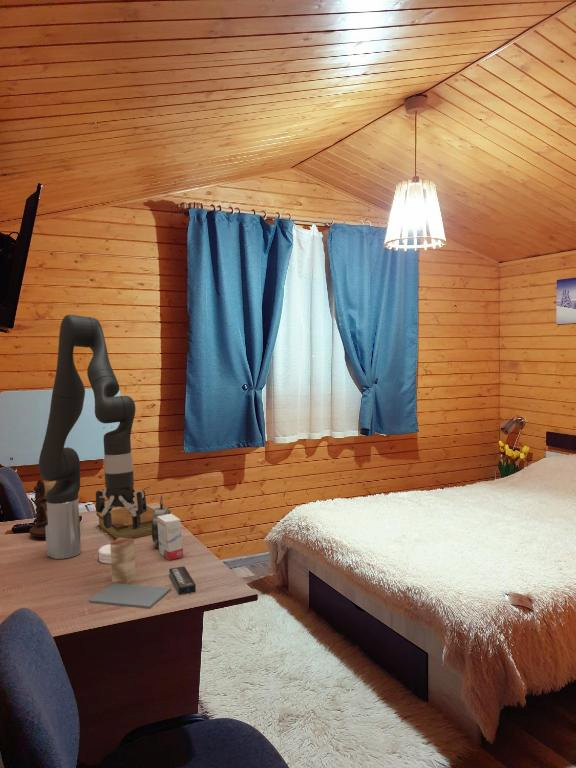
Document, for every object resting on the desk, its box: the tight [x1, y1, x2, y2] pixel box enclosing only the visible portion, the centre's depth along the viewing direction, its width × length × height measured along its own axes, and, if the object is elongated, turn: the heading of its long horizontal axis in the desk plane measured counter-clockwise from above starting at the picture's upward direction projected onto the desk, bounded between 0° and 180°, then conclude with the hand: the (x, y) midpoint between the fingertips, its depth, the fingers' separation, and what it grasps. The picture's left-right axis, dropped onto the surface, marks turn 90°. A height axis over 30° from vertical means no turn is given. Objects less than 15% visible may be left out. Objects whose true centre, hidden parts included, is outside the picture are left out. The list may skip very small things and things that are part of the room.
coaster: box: [98, 543, 111, 565], centre depth 176 cm, size 10×10×4 cm
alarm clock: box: [151, 494, 172, 550], centre depth 187 cm, size 11×5×16 cm, turn 2°
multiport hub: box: [168, 566, 197, 596], centre depth 155 cm, size 4×14×2 cm, turn 22°
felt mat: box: [88, 583, 172, 609], centre depth 148 cm, size 17×11×1 cm, turn 74°
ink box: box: [157, 513, 184, 561], centre depth 177 cm, size 9×5×12 cm, turn 31°
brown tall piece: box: [28, 479, 57, 541], centre depth 202 cm, size 15×15×20 cm
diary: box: [95, 504, 155, 541], centre depth 206 cm, size 23×19×6 cm
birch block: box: [109, 538, 136, 584], centre depth 158 cm, size 4×4×11 cm
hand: (122, 528), depth 158 cm, fingers open, 8 cm apart
